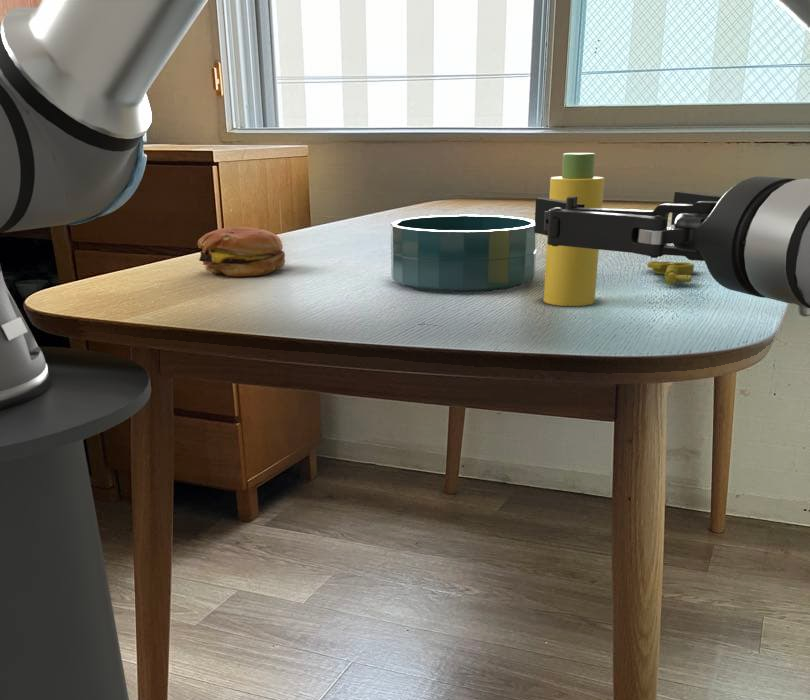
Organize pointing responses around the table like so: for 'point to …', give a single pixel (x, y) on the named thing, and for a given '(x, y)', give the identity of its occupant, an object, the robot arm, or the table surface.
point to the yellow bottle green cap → (573, 266)
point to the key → (673, 270)
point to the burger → (241, 251)
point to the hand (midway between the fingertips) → (609, 211)
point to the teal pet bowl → (463, 252)
